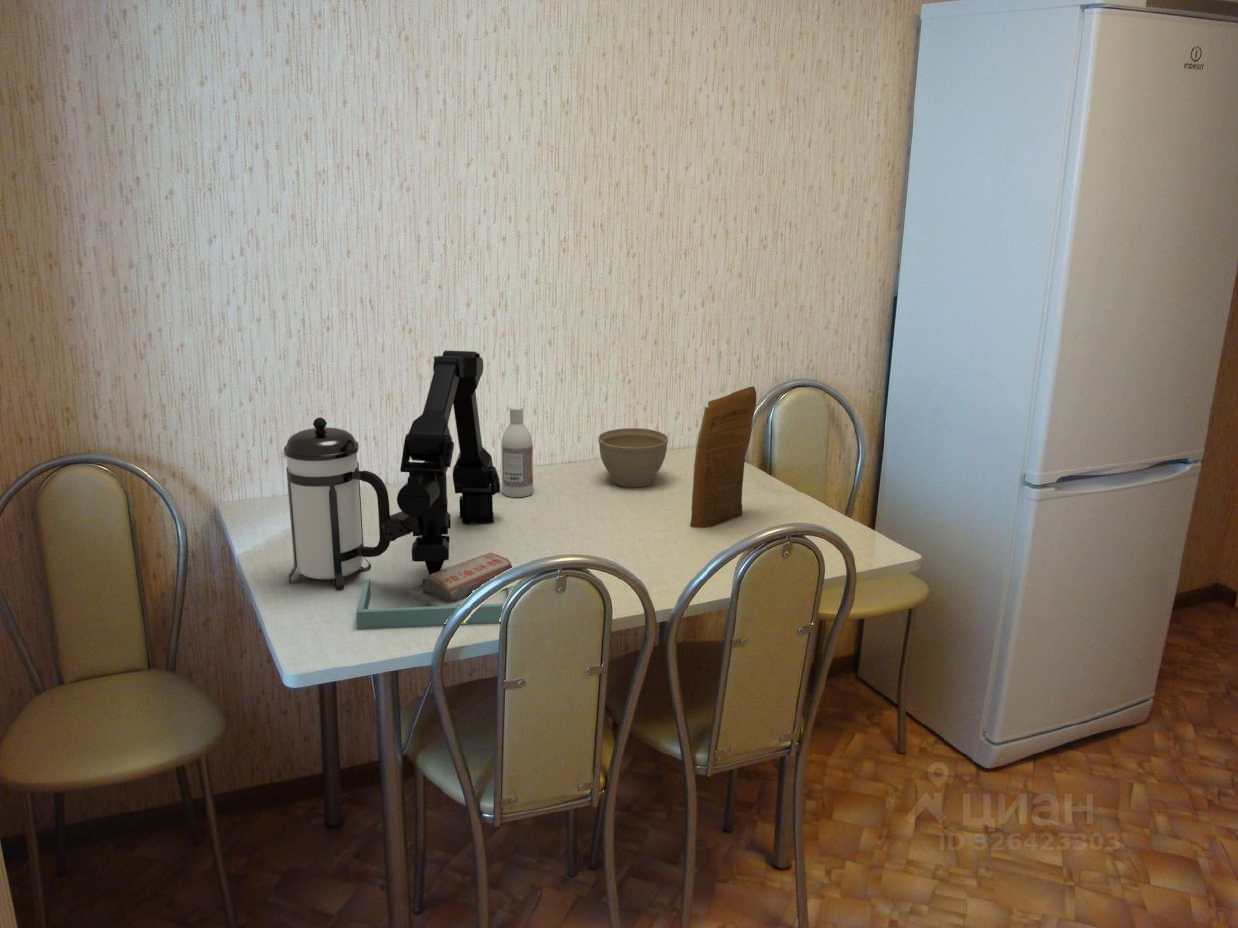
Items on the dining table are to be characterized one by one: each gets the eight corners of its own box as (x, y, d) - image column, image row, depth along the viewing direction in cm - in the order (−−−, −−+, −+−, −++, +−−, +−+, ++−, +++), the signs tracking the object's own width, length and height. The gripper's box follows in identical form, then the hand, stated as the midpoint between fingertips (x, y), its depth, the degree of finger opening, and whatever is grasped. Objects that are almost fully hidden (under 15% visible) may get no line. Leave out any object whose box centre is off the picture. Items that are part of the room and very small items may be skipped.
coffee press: (295, 599, 189) (281, 434, 180) (283, 566, 203) (270, 411, 194) (394, 585, 196) (386, 424, 187) (376, 553, 210) (367, 403, 201)
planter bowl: (589, 474, 260) (590, 430, 256) (653, 469, 264) (654, 425, 261) (609, 495, 245) (609, 449, 242) (676, 489, 250) (678, 444, 246)
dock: (512, 589, 195) (512, 573, 194) (515, 621, 182) (515, 605, 181) (364, 595, 192) (363, 579, 191) (357, 628, 179) (356, 612, 178)
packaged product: (485, 546, 203) (522, 560, 196) (485, 570, 204) (522, 585, 198) (407, 573, 190) (444, 590, 184) (409, 599, 191) (445, 616, 185)
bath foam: (535, 497, 243) (534, 410, 237) (504, 499, 241) (502, 412, 235) (530, 487, 249) (529, 403, 243) (500, 489, 248) (499, 404, 242)
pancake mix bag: (760, 513, 235) (768, 387, 227) (701, 534, 222) (706, 401, 214) (737, 505, 240) (743, 381, 231) (677, 525, 227) (681, 395, 219)
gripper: (387, 482, 199) (391, 561, 203) (379, 516, 181) (384, 602, 186) (449, 480, 200) (451, 559, 205) (447, 514, 183) (449, 600, 187)
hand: (433, 579), depth 196 cm, fingers closed
